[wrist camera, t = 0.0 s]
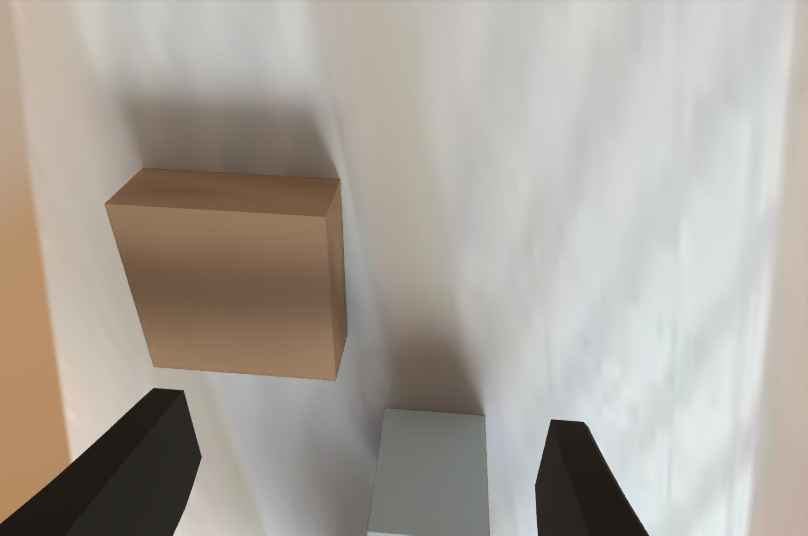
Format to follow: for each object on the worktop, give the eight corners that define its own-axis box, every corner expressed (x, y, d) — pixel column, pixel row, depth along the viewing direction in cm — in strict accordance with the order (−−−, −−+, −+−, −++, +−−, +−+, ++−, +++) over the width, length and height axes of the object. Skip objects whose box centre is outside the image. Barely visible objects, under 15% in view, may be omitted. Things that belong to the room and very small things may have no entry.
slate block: (476, 477, 29) (478, 604, 24) (385, 469, 29) (368, 593, 24) (485, 415, 26) (490, 542, 21) (384, 407, 26) (366, 531, 21)
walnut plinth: (348, 328, 24) (335, 380, 22) (184, 317, 25) (153, 366, 22) (342, 175, 20) (325, 217, 18) (147, 164, 21) (104, 204, 18)
